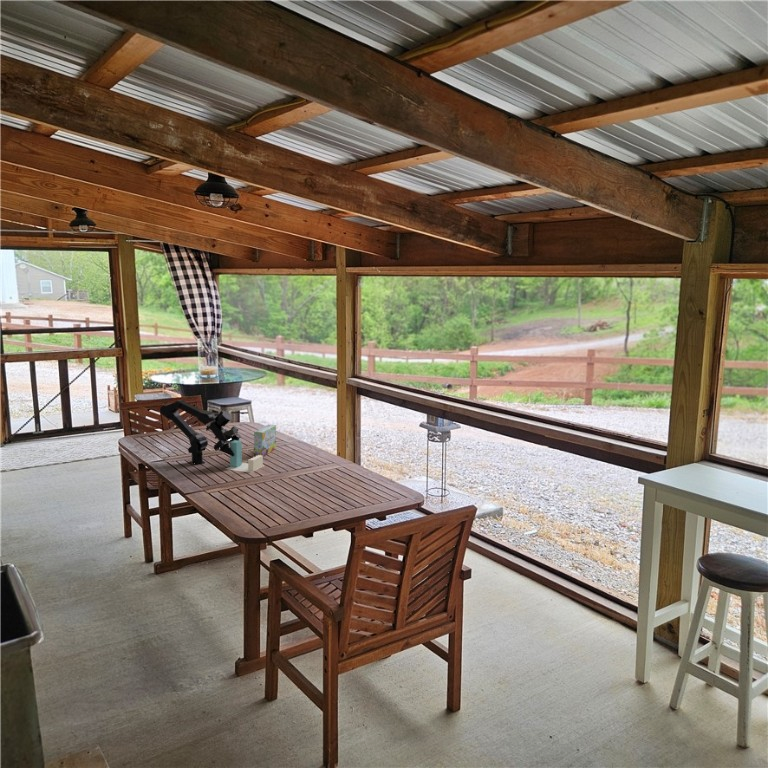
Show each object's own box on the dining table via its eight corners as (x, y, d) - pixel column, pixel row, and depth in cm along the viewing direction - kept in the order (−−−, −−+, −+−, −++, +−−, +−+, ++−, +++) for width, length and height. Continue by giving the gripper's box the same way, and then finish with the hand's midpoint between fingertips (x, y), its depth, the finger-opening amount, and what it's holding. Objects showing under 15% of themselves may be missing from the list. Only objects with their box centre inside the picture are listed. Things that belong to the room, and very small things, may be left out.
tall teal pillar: (230, 466, 335) (229, 442, 333) (235, 463, 339) (235, 440, 337) (236, 467, 333) (236, 443, 331) (241, 464, 338) (241, 441, 336)
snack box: (262, 458, 356) (262, 432, 354) (253, 457, 357) (253, 431, 355) (276, 449, 377) (276, 424, 375) (267, 448, 378) (267, 423, 376)
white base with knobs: (225, 470, 330) (225, 457, 329) (239, 464, 344) (239, 451, 343) (251, 474, 326) (251, 460, 325) (264, 467, 339) (264, 454, 338)
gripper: (218, 425, 325) (237, 449, 324) (237, 419, 343) (255, 441, 341) (205, 439, 329) (224, 462, 327) (225, 431, 346) (243, 453, 345)
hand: (237, 454), depth 335 cm, fingers open, 7 cm apart
